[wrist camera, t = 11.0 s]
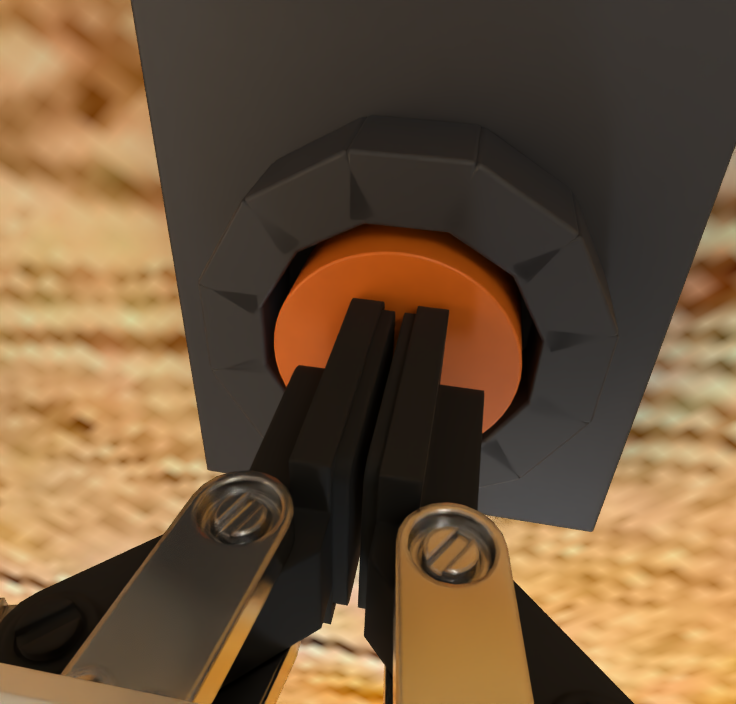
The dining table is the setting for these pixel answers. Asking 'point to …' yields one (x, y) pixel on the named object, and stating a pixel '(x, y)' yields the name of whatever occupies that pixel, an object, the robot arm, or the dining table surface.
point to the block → (447, 192)
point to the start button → (409, 305)
